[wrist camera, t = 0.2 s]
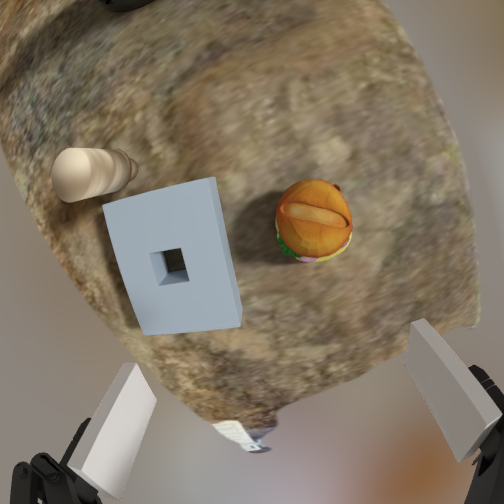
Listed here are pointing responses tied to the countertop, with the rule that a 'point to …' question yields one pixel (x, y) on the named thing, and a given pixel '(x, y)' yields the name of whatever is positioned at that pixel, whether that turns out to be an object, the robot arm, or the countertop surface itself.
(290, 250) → the cheeseburger
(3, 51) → the countertop surface
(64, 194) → the peg
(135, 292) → the board
